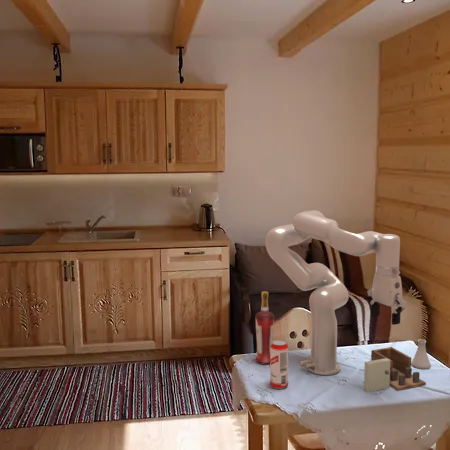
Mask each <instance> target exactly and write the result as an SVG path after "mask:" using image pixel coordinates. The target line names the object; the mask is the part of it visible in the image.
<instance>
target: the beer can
mask: <svg viewBox="0 0 450 450" xmlns="http://www.w3.org/2000/svg"><path fill="white" fill-rule="evenodd" d="M287 343H288V342H287V341H286V340H285V339H273V341H272V345H271V347H270V363H269V365H270V366H269V369H270V370H269V371H270V372H269V373H270V375H269V380H270V381H269V384H270V386H271V387H272V388H273V389H277V390H283V389H286V388H287V387H288V385H289V346H288V344H287Z"/></svg>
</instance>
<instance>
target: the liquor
mask: <svg viewBox="0 0 450 450" xmlns="http://www.w3.org/2000/svg"><path fill="white" fill-rule="evenodd" d="M260 295H261V296H260V297H261V304H260V305H261V307H260V311H258V312H257V313H256V314H255V316H254V317H255V336H256V357H255V360H256V361H257V362H258V363H259V364H261V363H262V364H261V365H268V363H269V364H270V347H271V345H272V341H274V332H275V331H274V330H275V325H274V324H275V314H274V313H273V312H271V311H269V291H261V294H260Z"/></svg>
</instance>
